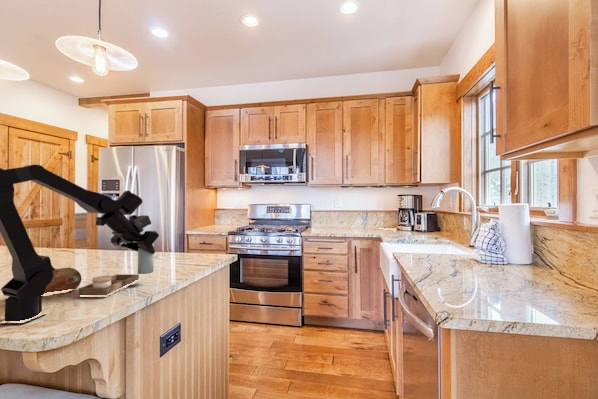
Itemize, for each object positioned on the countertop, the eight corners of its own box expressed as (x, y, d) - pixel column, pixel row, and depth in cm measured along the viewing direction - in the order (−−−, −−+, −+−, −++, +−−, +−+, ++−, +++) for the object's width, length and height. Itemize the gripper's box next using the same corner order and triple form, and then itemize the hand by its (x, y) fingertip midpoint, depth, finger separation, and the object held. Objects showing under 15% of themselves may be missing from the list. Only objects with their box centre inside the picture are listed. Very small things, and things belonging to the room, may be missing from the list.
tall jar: (148, 274, 100) (149, 235, 101) (134, 274, 100) (134, 235, 101) (156, 270, 105) (156, 233, 106) (142, 270, 106) (143, 233, 106)
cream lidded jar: (104, 296, 90) (104, 279, 90) (88, 296, 90) (88, 279, 90) (115, 291, 95) (115, 275, 95) (100, 291, 95) (100, 275, 95)
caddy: (105, 298, 88) (105, 288, 88) (78, 297, 88) (79, 288, 88) (138, 282, 106) (138, 274, 106) (116, 282, 106) (116, 274, 106)
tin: (19, 300, 86) (19, 273, 86) (20, 298, 88) (21, 271, 88) (81, 291, 95) (81, 266, 96) (80, 289, 98) (81, 265, 98)
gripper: (154, 208, 96) (179, 236, 106) (119, 207, 104) (146, 234, 113) (132, 232, 89) (161, 261, 98) (96, 230, 96) (127, 257, 106)
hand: (149, 252), depth 104 cm, fingers closed on tall jar, 5 cm apart
